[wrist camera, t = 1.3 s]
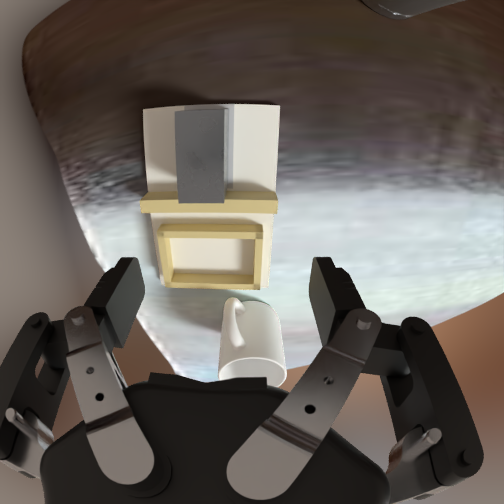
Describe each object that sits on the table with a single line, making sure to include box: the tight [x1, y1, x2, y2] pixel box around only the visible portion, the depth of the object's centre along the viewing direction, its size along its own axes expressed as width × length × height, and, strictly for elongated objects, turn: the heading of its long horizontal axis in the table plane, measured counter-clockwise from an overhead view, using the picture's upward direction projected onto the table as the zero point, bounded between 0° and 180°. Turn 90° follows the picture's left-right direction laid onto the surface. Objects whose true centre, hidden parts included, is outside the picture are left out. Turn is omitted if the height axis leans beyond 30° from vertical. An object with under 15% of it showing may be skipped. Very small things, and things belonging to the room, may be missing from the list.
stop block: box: [175, 109, 229, 204], centre depth 24 cm, size 8×4×6 cm, turn 178°
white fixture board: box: [140, 104, 280, 290], centre depth 29 cm, size 22×14×4 cm, turn 178°
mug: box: [218, 297, 287, 387], centre depth 35 cm, size 12×8×10 cm
